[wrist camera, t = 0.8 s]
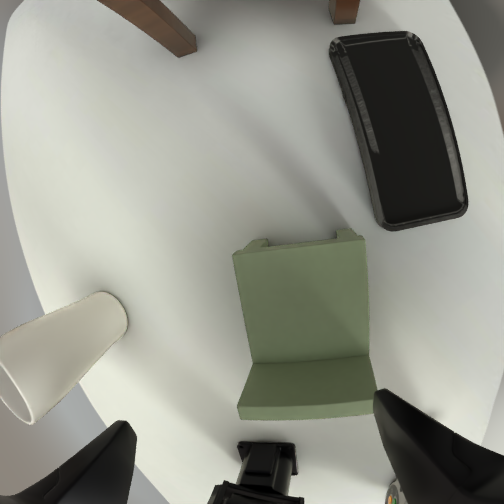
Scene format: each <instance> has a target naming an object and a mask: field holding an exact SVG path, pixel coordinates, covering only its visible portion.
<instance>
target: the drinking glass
mask: <svg viewBox="0 0 504 504" xmlns="http://www.w3.org/2000/svg"><path fill="white" fill-rule="evenodd" d="M127 324H128V322H127V316H126V313H125V310H124V308H123V306H122V305H121V303H120V302H119V301H118V300H117V299H116V298H115V297H114V296H112V295H111V294H109V293H106V292H95V293H93V294H91V295H89V296H87V297H86V298H84V299H81V300H79V301H77V302H74V303H72V304H70V305H67V306H65V307H63V308H60V309H58V310H55V311H53V312H51V313H48V314H46V315H44V316H41V317H39V318H36V319H34V320H32V321H29V322H27V323H25V324H23V325H20V326H19V327H16V328H14V329H12V330H11V331H9V332H7V333H5V334H4V335H2V336H0V398H1V400H2V401H3V402H4V404H5V405H6V406H7V407H8V408H9V409H10V411H11V412H13V414H14V415H15V416H17V417H18V418H19V419H20V420H22V421H23V422H25V423H27V424H30V425H32V424H34V423H35V422H37V421H38V420H39V419H40V418H42V417H43V416H44V415H45V414H47V413H48V412H49V411H50V410H51V409H52V408H53V407H55V406H56V405H57V404H58V403H59V402H60V401H61V400H62V399H63V398H64V397H65V396H66V395H67V394H68V393H69V392H70V391H71V390H72V389H73V387H74V386H75V385H76V384H77V383H78V382H79V381H80V380H81V379H82V377H83V376H84V375H85V374H86V373H87V372H88V371H89V370H90V369H91V368H92V366H93V365H94V364H95V363H96V362H97V361H98V360H99V359H100V358H101V357H102V356H103V355H104V354H105V353H106V352H107V350H108V349H109V348H110V347H111V346H112V345H113V344H114V343H115V342H117V341H118V340H119V339H120V338H121V337H122V336H123V335H124V334H125V332H126V330H127Z"/></svg>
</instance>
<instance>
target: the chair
mask: <svg viewBox="0 0 504 504" xmlns="http://www.w3.org/2000/svg"><path fill="white" fill-rule="evenodd" d="M336 235H337V239H329V240H320V241H312V242H304V243H295V244H287V245H279V246H270V247H268V241H267V239H260V240H253V241H251V242H250V243H249V244H248V245H247V246H246V247H245V248H244V249H243V250H238V251H236V252H235V253H234V254H233V255H232V257H233V263H234V268H235V274H236V279H237V284H238V290H239V295H240V300H241V305H242V311H243V316H244V321H245V326H246V331H247V336H248V341H249V346H250V351H251V356H252V361H253V365H252V368H251V370H250V373H249V376H248V378H247V381H246V384H245V386H244V389H243V391H242V394H241V397H240V399H239V402H238V404H237V409H238V412H239V416H240V419H241V420H308V419H325V418H337V417H348V416H357V415H365V414H373V413H374V412H373V398H374V392H375V391H377V386H376V382H375V378H374V373H373V369H372V365H371V361H370V357H369V293H368V272H367V257H366V244H365V239H364V238H363V236H357V235H356V233H355V232H354V231H353V230H352V228H349V229H341V230H336Z"/></svg>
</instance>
